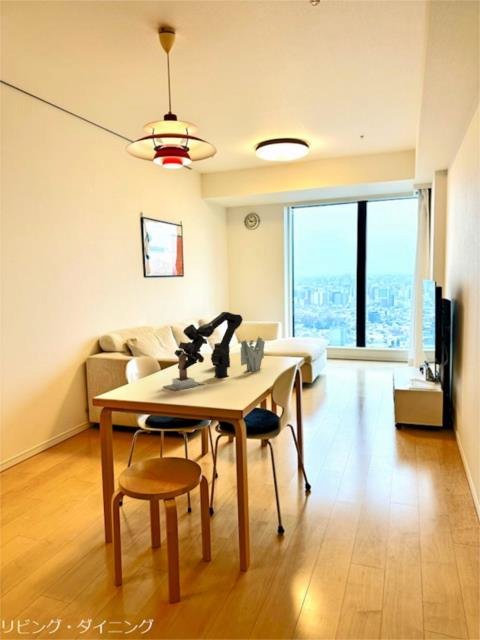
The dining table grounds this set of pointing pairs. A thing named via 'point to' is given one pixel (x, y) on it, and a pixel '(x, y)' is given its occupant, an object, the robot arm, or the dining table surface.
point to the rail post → (181, 364)
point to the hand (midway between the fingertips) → (180, 368)
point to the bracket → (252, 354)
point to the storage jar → (226, 351)
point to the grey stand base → (182, 384)
